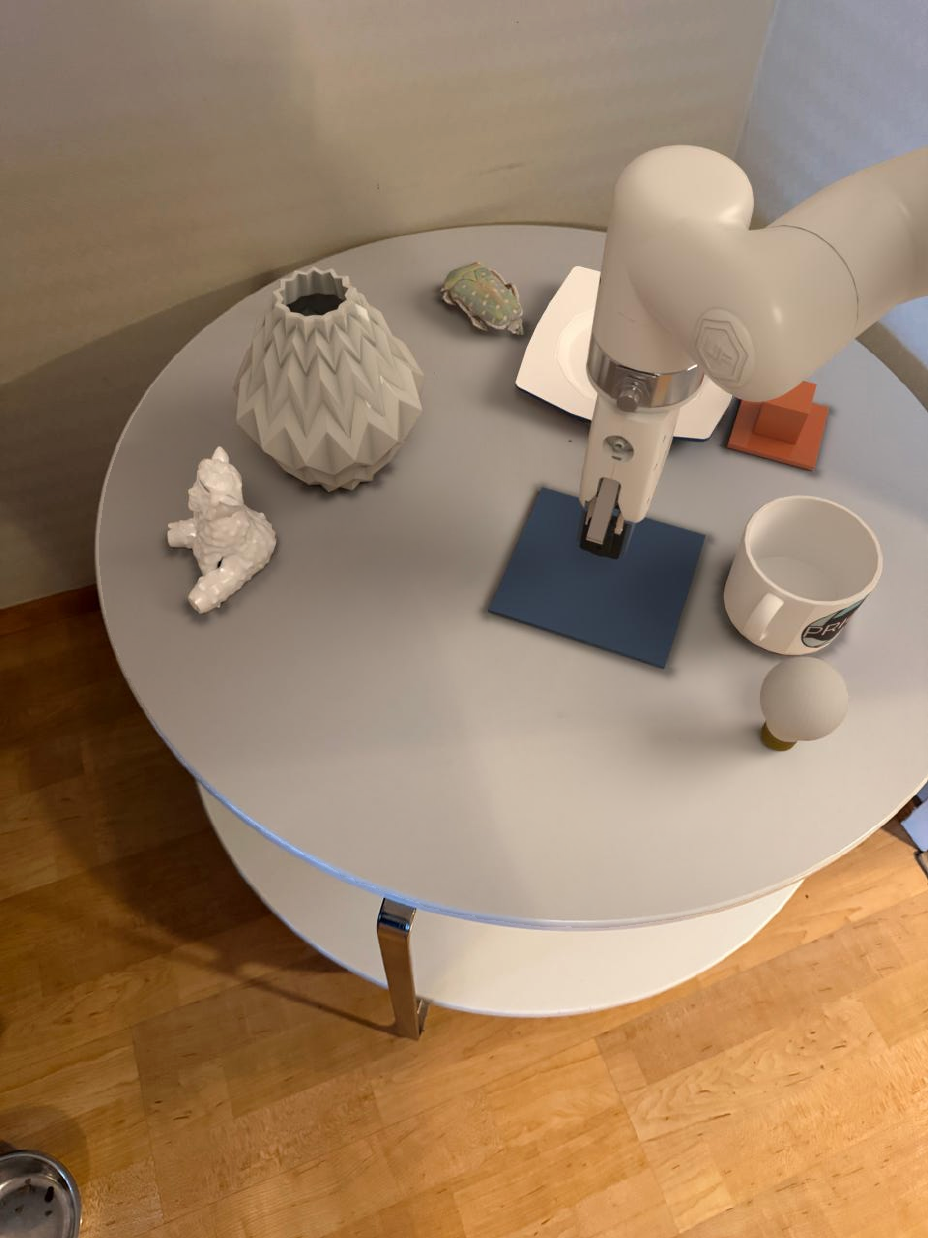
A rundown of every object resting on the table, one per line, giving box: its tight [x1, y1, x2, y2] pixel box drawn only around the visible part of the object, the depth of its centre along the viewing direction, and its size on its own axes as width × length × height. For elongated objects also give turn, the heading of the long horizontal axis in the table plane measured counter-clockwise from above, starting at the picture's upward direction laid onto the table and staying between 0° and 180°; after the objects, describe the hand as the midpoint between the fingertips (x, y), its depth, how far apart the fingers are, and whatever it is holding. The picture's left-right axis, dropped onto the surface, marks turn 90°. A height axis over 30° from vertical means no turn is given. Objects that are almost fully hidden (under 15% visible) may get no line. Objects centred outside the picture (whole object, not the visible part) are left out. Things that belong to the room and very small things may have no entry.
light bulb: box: [759, 656, 850, 752], centre depth 68 cm, size 6×6×10 cm
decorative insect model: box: [439, 261, 525, 336], centre depth 97 cm, size 9×11×5 cm
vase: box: [232, 265, 426, 493], centre depth 79 cm, size 16×16×18 cm
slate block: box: [576, 505, 636, 555], centre depth 74 cm, size 4×4×4 cm
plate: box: [514, 265, 734, 443], centre depth 92 cm, size 20×20×3 cm
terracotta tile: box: [726, 399, 830, 471], centre depth 89 cm, size 8×8×1 cm
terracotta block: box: [753, 380, 817, 444], centre depth 87 cm, size 4×4×4 cm
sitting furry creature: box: [167, 446, 277, 615], centre depth 76 cm, size 10×9×12 cm
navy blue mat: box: [488, 486, 706, 669], centre depth 80 cm, size 15×14×1 cm
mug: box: [723, 495, 884, 656], centre depth 75 cm, size 13×10×8 cm
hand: (608, 527), depth 75 cm, fingers closed on slate block, 4 cm apart
